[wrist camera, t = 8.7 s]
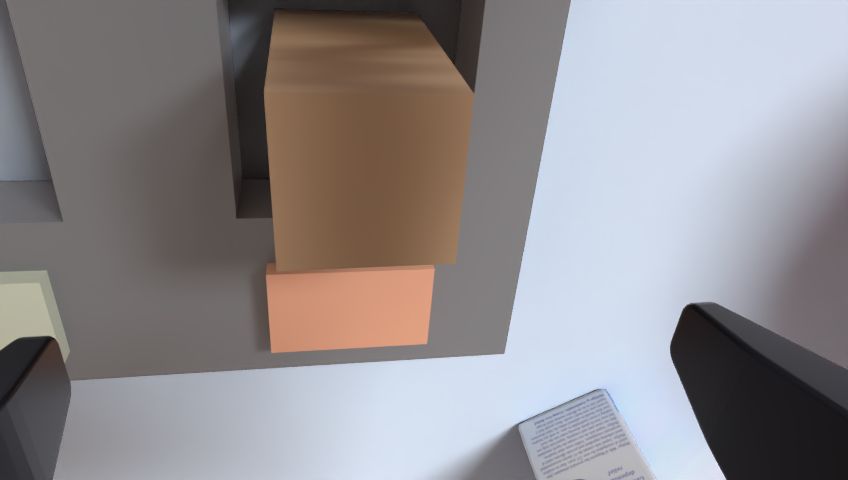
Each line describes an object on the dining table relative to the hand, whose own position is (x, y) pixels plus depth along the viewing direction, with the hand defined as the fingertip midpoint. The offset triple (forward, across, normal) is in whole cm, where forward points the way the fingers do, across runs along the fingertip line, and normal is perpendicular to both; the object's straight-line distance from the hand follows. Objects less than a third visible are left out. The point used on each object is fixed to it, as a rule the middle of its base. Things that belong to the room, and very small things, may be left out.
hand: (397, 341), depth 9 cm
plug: (+12, 0, 0) cm, 12 cm away
